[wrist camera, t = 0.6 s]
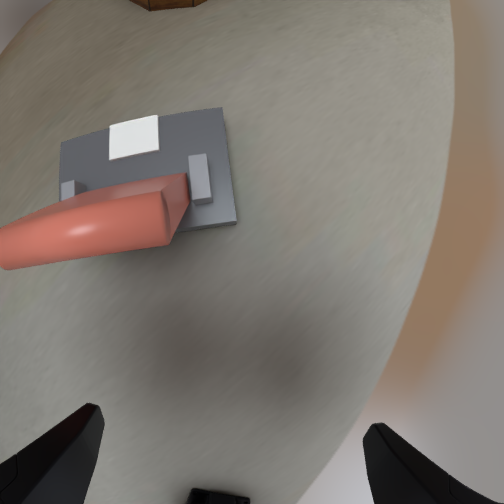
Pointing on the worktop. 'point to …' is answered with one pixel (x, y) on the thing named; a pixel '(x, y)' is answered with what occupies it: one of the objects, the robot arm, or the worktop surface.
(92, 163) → the grey holder stand
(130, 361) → the worktop surface
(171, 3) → the mug
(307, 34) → the worktop surface
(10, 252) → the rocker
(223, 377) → the worktop surface
